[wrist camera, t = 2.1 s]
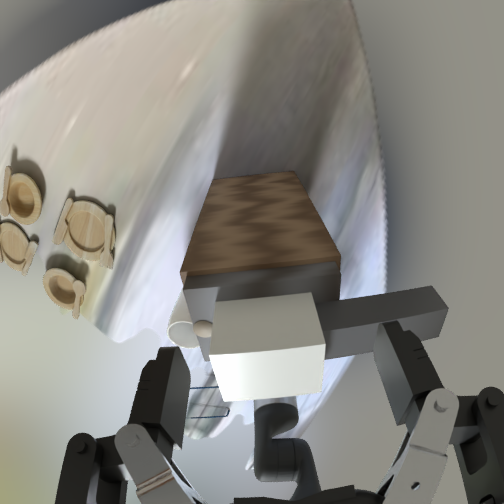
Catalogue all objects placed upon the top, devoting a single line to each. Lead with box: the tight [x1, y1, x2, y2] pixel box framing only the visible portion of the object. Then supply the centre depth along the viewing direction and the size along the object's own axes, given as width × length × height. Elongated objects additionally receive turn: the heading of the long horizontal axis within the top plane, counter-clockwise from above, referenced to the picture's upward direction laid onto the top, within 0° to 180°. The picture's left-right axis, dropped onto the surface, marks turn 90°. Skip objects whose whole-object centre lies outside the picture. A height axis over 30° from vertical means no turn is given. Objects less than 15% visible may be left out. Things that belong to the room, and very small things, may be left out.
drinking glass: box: [167, 286, 200, 349], centre depth 56 cm, size 7×7×15 cm
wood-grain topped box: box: [180, 171, 341, 361], centre depth 40 cm, size 14×10×31 cm
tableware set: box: [0, 166, 115, 319], centre depth 55 cm, size 35×29×4 cm
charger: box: [209, 286, 448, 401], centre depth 24 cm, size 20×6×6 cm, turn 96°
